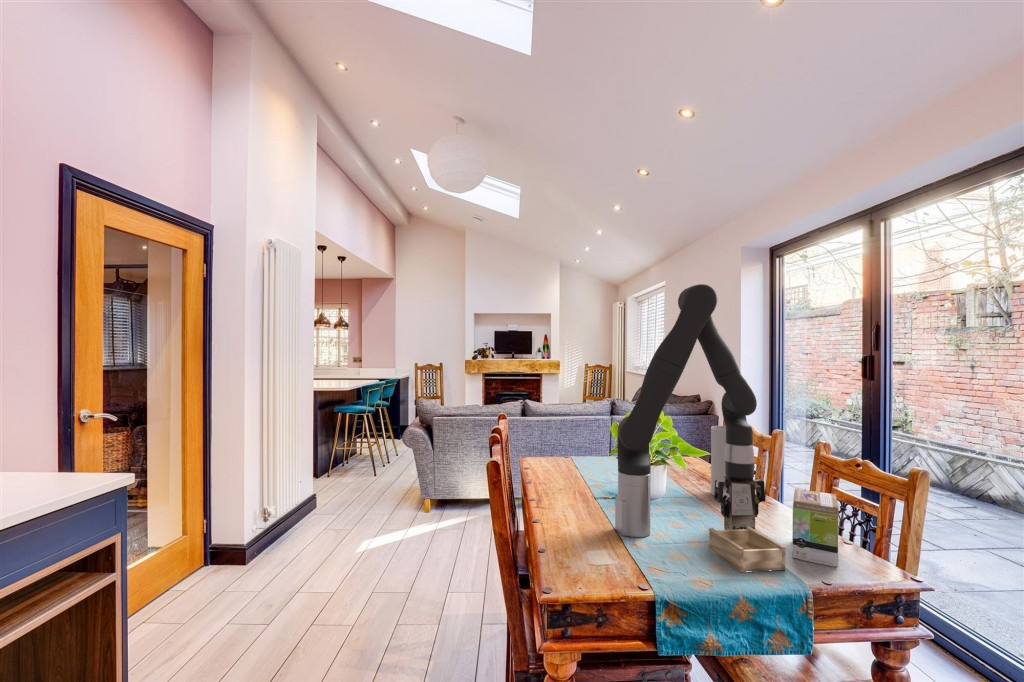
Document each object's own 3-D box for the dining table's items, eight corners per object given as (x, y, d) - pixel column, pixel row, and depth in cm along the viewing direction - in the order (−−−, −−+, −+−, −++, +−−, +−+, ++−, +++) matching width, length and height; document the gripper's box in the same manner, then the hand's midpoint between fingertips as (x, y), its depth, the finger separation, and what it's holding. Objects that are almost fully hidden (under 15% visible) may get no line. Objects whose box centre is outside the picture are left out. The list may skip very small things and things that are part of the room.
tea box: (839, 568, 116) (839, 507, 117) (791, 559, 121) (791, 500, 122) (836, 548, 129) (836, 492, 129) (793, 540, 134) (793, 487, 135)
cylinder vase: (715, 489, 184) (715, 424, 185) (751, 495, 177) (751, 428, 178) (707, 497, 174) (707, 428, 175) (744, 504, 167) (744, 432, 168)
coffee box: (756, 543, 131) (756, 484, 132) (731, 541, 133) (731, 482, 133) (746, 531, 140) (746, 476, 141) (723, 529, 142) (723, 474, 142)
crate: (739, 572, 113) (739, 548, 113) (708, 549, 127) (708, 528, 127) (785, 570, 114) (785, 547, 115) (749, 547, 128) (749, 526, 128)
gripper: (723, 463, 132) (724, 522, 132) (770, 462, 134) (771, 520, 134) (709, 457, 140) (709, 513, 139) (754, 456, 142) (754, 511, 141)
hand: (739, 516), depth 136 cm, fingers open, 8 cm apart
